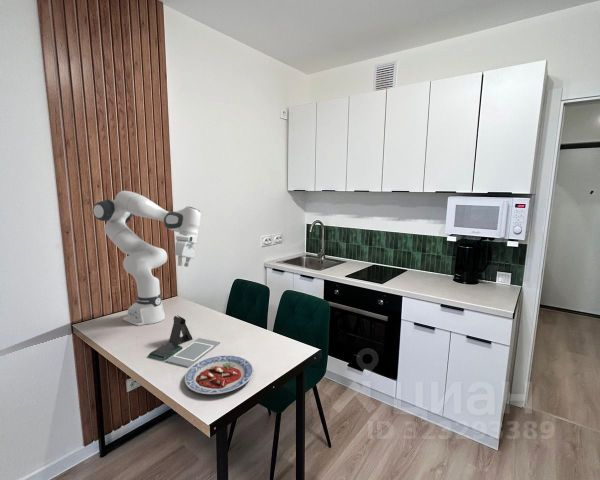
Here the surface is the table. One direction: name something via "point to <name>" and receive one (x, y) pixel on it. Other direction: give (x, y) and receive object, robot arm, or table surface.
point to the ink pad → (165, 351)
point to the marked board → (192, 352)
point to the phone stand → (179, 331)
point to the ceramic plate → (219, 374)
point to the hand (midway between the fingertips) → (183, 266)
